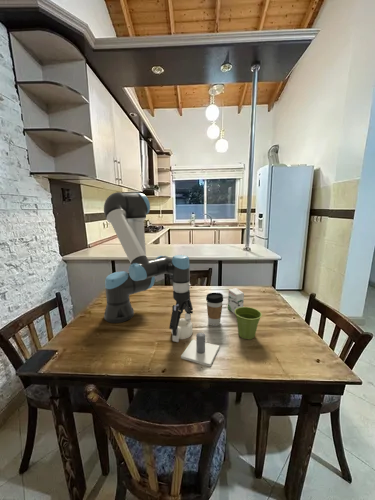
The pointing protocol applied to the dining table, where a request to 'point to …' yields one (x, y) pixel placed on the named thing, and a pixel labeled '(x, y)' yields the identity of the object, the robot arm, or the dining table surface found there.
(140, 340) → the dining table surface
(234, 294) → the ink box
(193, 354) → the white square plate
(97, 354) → the dining table surface
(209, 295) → the coffee cup
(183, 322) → the collar
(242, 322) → the plant pot
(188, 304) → the robot arm
